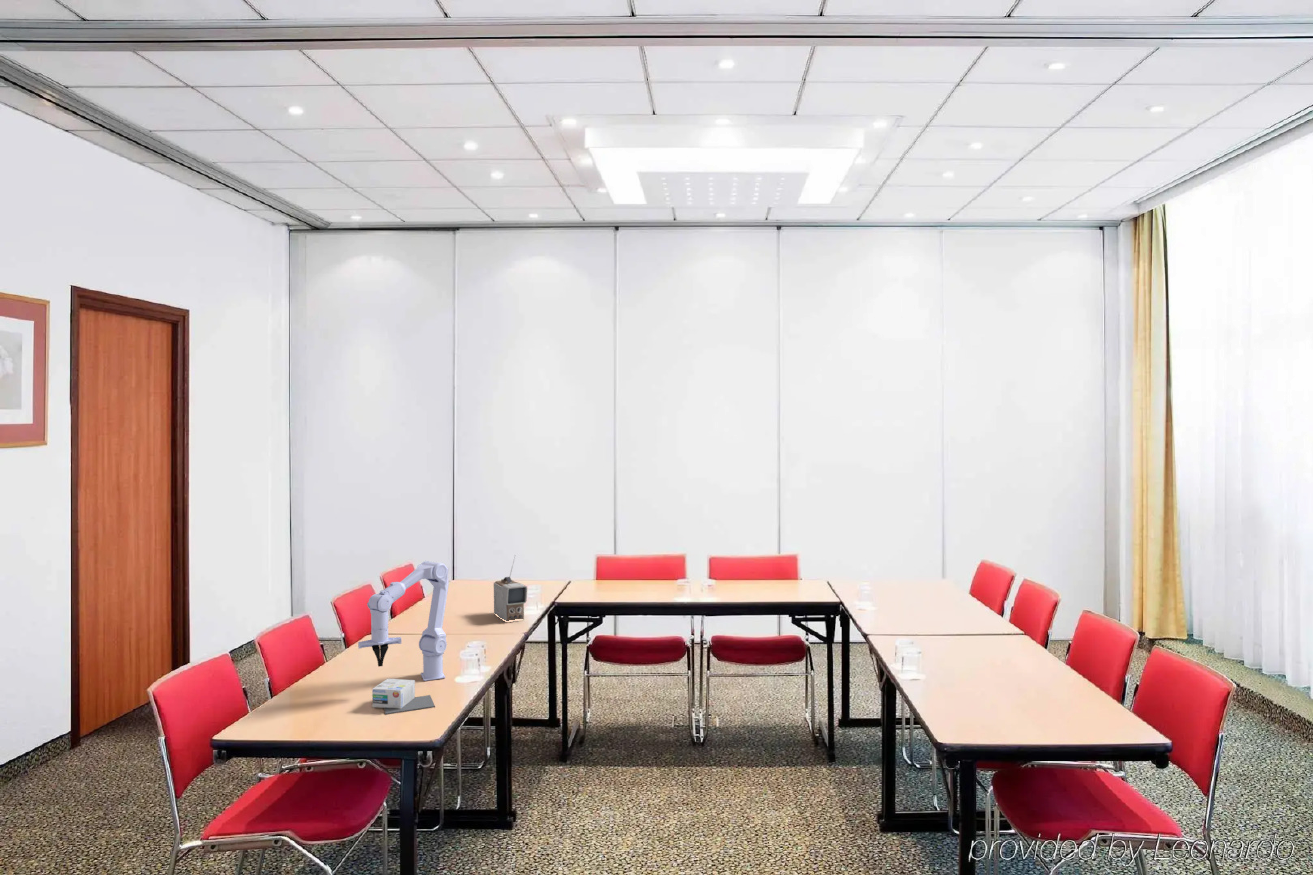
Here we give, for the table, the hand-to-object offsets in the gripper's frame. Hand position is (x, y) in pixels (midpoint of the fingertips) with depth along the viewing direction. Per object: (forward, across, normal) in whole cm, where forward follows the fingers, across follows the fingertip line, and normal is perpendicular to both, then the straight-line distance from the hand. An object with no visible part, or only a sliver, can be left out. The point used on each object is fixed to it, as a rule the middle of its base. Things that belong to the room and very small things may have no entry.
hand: (380, 665), depth 277 cm
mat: (+10, +8, -15) cm, 20 cm away
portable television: (+11, +69, +90) cm, 114 cm away
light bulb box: (+7, +6, -8) cm, 12 cm away
